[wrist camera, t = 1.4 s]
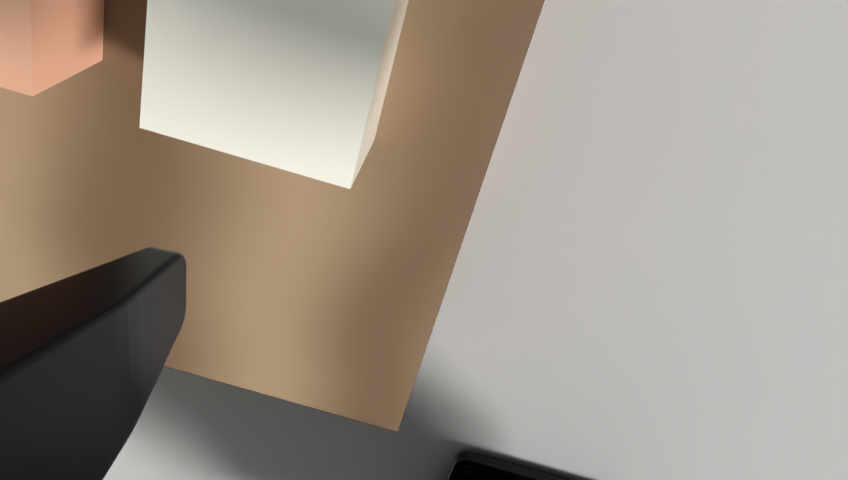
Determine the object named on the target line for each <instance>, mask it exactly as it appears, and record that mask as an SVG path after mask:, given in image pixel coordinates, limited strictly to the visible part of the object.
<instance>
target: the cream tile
mask: <svg viewBox="0 0 848 480" xmlns="http://www.w3.org/2000/svg"><path fill="white" fill-rule="evenodd" d="M408 1H409V0H147V16H146V32H145V47H144V63H143V79H142V94H141V110H140V126H139V128H142V129H146V130H149V131H152V132H156V133H159V134H163V135H166V136H170V137H173V138H176V139H180V140H183V141H187V142H190V143H193V144H197V145H200V146H204V147H207V148H211V149H214V150H217V151H221V152H224V153H228V154H231V155H235V156H238V157H241V158H245V159H248V160H252V161H255V162H259V163H262V164H265V165H269V166H272V167H276V168H279V169H282V170H286V171H289V172H293V173H296V174H300V175H303V176H306V177H310V178H313V179H317V180H320V181H324V182H327V183H330V184H334V185H337V186H341V187H344V188H348V189H351V187H352V185H353V183H354V181H355V179H356V177H357V175H358V172H359V170H360V168H361V166H362V164H363V162H364V160H365V158H366V156H367V154H368V152H369V150H370V148H371V146H372V144H373V142H374V139H375V135H376V131H377V127H378V123H379V119H380V115H381V111H382V107H383V102H384V98H385V94H386V90H387V86H388V82H389V78H390V74H391V70H392V66H393V62H394V58H395V54H396V50H397V45H398V41H399V37H400V33H401V29H402V25H403V21H404V17H405V13H406V9H407V5H408Z"/></svg>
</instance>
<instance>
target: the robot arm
mask: <svg viewBox="0 0 848 480" xmlns="http://www.w3.org/2000/svg"><path fill="white" fill-rule="evenodd" d="M185 313H186V260H185V257H184V256H183V255H182V254H181V253H179V252H175V251H171V250H166V249H161V248H157V247H148V248H145V249H142V250H139V251H137V252H134V253H131V254H129V255H126V256H123V257H120V258H118V259H115V260H112V261H110V262H107V263H104V264H102V265H99V266H96V267H94V268H91V269H88V270H86V271H83V272H80V273H77V274H75V275H72V276H69V277H67V278H64V279H61V280H59V281H56V282H53V283H51V284H48V285H45V286H43V287H40V288H37V289H34V290H32V291H29V292H26V293H24V294H21V295H18V296H16V297H13V298H10V299H8V300H5V301H2V302H0V480H103V478H104V477H105V475H106V474H107V472H108V470H109V469H110V467H111V466H112V464H113V462H114V461H115V459H116V458H117V456H118V454H119V453H120V451H121V449H122V448H123V446H124V444H125V443H126V441H127V439H128V438H129V436H130V434H131V432H132V431H133V429H134V427H135V425H136V423H137V421H138V419H139V417H140V415H141V413H142V411H143V409H144V407H145V404H146V402H147V400H148V398H149V396H150V394H151V392H152V389H153V387H154V385H155V383H156V381H157V379H158V377H159V375H160V372H161V370H162V368H163V366H164V364H165V362H166V360H167V358H168V355H169V353H170V351H171V349H172V347H173V345H174V343H175V341H176V338H177V336H178V334H179V332H180V330H181V328H182V325H183V322H184V318H185ZM464 465H470V466H471V467H466V466H464ZM446 480H567V479H564V478H560V477H557V476H553V475H550V474H546V473H542V472H539V471H535V470H532V469H528V468H525V467H521V466H518V465H514V464H511V463H507V462H504V461H500V460H496V459H493V458H489V457H486V456H482V455H479V454H475V453H472V452H462V453H460V454H458V455H457V456H456V457H455V459H454V462H453V464H452V466H451V469H450V471H449V474H448V476H447V479H446Z"/></svg>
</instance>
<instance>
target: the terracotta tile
mask: <svg viewBox="0 0 848 480" xmlns="http://www.w3.org/2000/svg"><path fill="white" fill-rule="evenodd" d="M103 27H104V0H0V87H2V88H5V89H9V90H12V91H15V92H19V93H22V94H26V95H29V96H35V95H36V94H38V93H40V92H42V91H44V90H46V89H48V88H50V87H52V86H54V85H56V84H58V83H60V82H62V81H63V80H65V79H67V78H69V77H71V76H73V75H75V74H77V73H79V72H81V71H83V70H85V69H87V68H89V67H90V66H92V65H94V64H96V63H98V62H100V61H102V57H103Z"/></svg>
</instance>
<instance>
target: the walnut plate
mask: <svg viewBox="0 0 848 480" xmlns="http://www.w3.org/2000/svg"><path fill="white" fill-rule="evenodd" d="M544 1H545V0H409V1H408V5H407V9H406V13H405V17H404V21H403V25H402V29H401V33H400V37H399V41H398V45H397V50H396V54H395V58H394V62H393V66H392V70H391V74H390V78H389V82H388V86H387V90H386V94H385V98H384V102H383V107H382V111H381V115H380V119H379V123H378V127H377V131H376V135H375V139H374V142H373V144H372V146H371V148H370V150H369V152H368V154H367V156H366V158H365V160H364V162H363V164H362V166H361V168H360V170H359V172H358V175H357V177H356V179H355V181H354V183H353V185H352V187H351V189H348V188H344V187H341V186H337V185H334V184H330V183H327V182H324V181H320V180H317V179H313V178H310V177H306V176H303V175H300V174H296V173H293V172H289V171H286V170H282V169H279V168H276V167H272V166H269V165H265V164H262V163H259V162H255V161H252V160H248V159H245V158H241V157H238V156H235V155H231V154H228V153H224V152H221V151H217V150H214V149H211V148H207V147H204V146H200V145H197V144H193V143H190V142H187V141H183V140H180V139H176V138H173V137H170V136H166V135H163V134H159V133H156V132H152V131H149V130H146V129H142V128H139V126H140V110H141V94H142V79H143V63H144V47H145V32H146V16H147V0H104V27H103V57H102V61H100V62H98V63H96V64H94V65H92V66H90V67H89V68H87V69H85V70H83V71H81V72H79V73H77V74H75V75H73V76H71V77H69V78H67V79H65V80H63V81H62V82H60V83H58V84H56V85H54V86H52V87H50V88H48V89H46V90H44V91H42V92H40V93H38V94H36V95H35V96H29V95H26V94H22V93H19V92H15V91H12V90H9V89H5V88H2V87H0V302H2V301H5V300H8V299H10V298H13V297H16V296H18V295H21V294H24V293H26V292H29V291H32V290H34V289H37V288H40V287H43V286H45V285H48V284H51V283H53V282H56V281H59V280H61V279H64V278H67V277H69V276H72V275H75V274H77V273H80V272H83V271H86V270H88V269H91V268H94V267H96V266H99V265H102V264H104V263H107V262H110V261H112V260H115V259H118V258H120V257H123V256H126V255H129V254H131V253H134V252H137V251H139V250H142V249H145V248H148V247H157V248H161V249H166V250H171V251H175V252H179V253H181V254H182V255H183V256H184V257H185V260H186V313H185V318H184V322H183V325H182V328H181V330H180V332H179V334H178V336H177V338H176V341H175V343H174V345H173V347H172V349H171V351H170V353H169V355H168V358H167V360H166V362H165V364H164V366H167V367H170V368H174V369H177V370H181V371H185V372H188V373H192V374H195V375H199V376H202V377H206V378H209V379H213V380H216V381H220V382H223V383H227V384H230V385H234V386H238V387H241V388H245V389H248V390H252V391H255V392H259V393H262V394H266V395H269V396H273V397H276V398H280V399H284V400H287V401H291V402H294V403H298V404H301V405H305V406H308V407H312V408H315V409H319V410H322V411H326V412H329V413H333V414H337V415H340V416H344V417H347V418H351V419H354V420H358V421H361V422H365V423H368V424H372V425H375V426H379V427H383V428H386V429H390V430H393V431H397V432H398V429H399V426H400V423H401V420H402V417H403V414H404V412H405V409H406V406H407V403H408V400H409V397H410V394H411V391H412V388H413V385H414V382H415V379H416V376H417V373H418V370H419V368H420V365H421V362H422V359H423V356H424V353H425V350H426V347H427V344H428V341H429V338H430V335H431V332H432V329H433V326H434V323H435V321H436V318H437V315H438V312H439V309H440V306H441V303H442V300H443V297H444V294H445V291H446V288H447V285H448V282H449V279H450V277H451V274H452V271H453V268H454V265H455V262H456V259H457V256H458V253H459V250H460V247H461V244H462V241H463V238H464V235H465V232H466V230H467V227H468V224H469V221H470V218H471V215H472V212H473V209H474V206H475V203H476V200H477V197H478V194H479V191H480V188H481V186H482V183H483V180H484V177H485V174H486V171H487V168H488V165H489V162H490V159H491V156H492V153H493V150H494V147H495V144H496V141H497V139H498V136H499V133H500V130H501V127H502V124H503V121H504V118H505V115H506V112H507V109H508V106H509V103H510V100H511V97H512V95H513V92H514V89H515V86H516V83H517V80H518V77H519V74H520V71H521V68H522V65H523V62H524V59H525V56H526V53H527V50H528V48H529V45H530V42H531V39H532V36H533V33H534V30H535V27H536V24H537V21H538V18H539V15H540V12H541V9H542V6H543V4H544Z"/></svg>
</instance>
